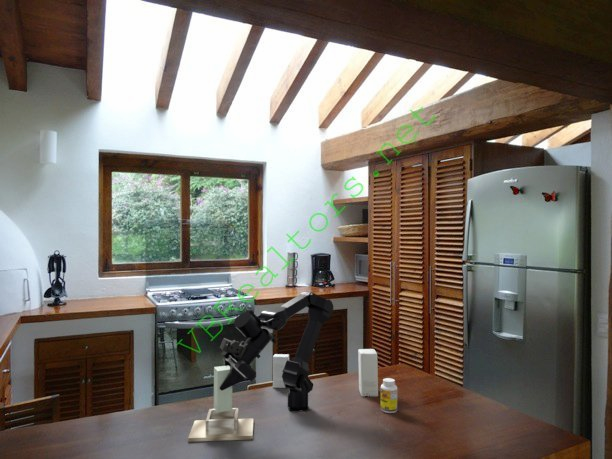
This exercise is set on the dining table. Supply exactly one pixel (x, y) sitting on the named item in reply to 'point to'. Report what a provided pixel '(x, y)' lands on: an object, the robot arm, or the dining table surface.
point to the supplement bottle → (389, 396)
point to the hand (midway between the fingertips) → (218, 387)
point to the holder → (221, 427)
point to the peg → (221, 397)
